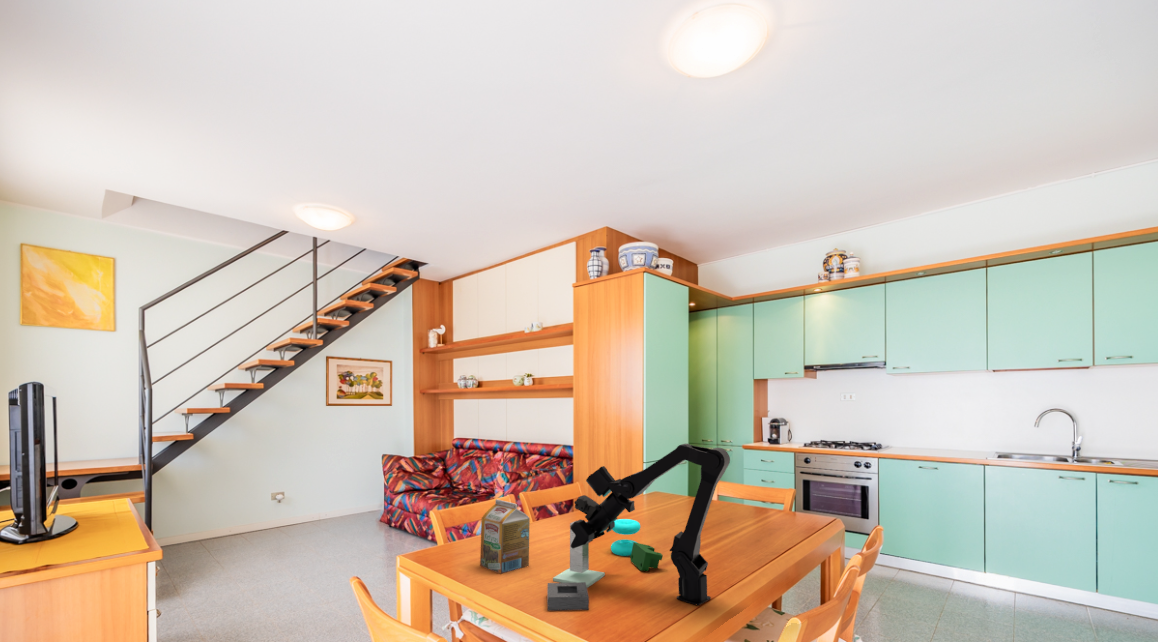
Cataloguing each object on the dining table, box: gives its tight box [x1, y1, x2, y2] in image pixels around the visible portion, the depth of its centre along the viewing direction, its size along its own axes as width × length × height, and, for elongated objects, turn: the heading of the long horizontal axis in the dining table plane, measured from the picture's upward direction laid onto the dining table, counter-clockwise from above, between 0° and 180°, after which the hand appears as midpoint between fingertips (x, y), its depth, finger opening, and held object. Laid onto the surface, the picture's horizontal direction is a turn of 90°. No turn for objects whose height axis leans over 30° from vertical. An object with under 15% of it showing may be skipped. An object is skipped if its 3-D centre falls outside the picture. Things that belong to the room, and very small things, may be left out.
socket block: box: [546, 582, 590, 612], centre depth 133 cm, size 10×10×3 cm
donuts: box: [610, 518, 641, 557], centre depth 176 cm, size 10×10×10 cm
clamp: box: [629, 541, 664, 572], centre depth 162 cm, size 12×6×9 cm, turn 7°
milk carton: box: [479, 499, 531, 575], centre depth 162 cm, size 11×11×19 cm
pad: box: [552, 567, 606, 589], centre depth 150 cm, size 11×11×1 cm
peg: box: [569, 520, 590, 573], centre depth 151 cm, size 4×4×13 cm
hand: (575, 545), depth 152 cm, fingers closed on peg, 4 cm apart
